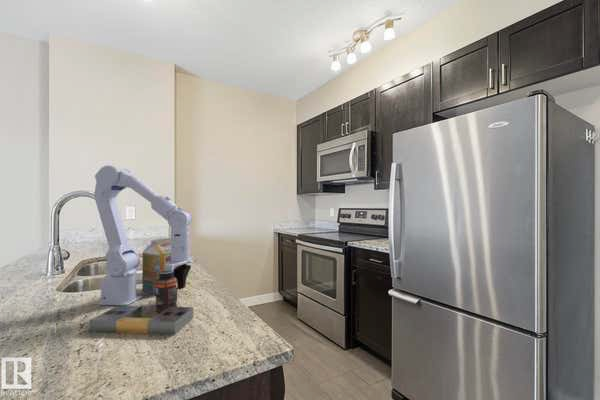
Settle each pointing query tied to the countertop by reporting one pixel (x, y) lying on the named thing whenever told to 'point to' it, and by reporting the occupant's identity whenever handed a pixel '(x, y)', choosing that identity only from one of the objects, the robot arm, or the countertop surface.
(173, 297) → the supplement bottle
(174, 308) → the grey flat block
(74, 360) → the countertop surface
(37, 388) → the countertop surface
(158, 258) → the food carton
